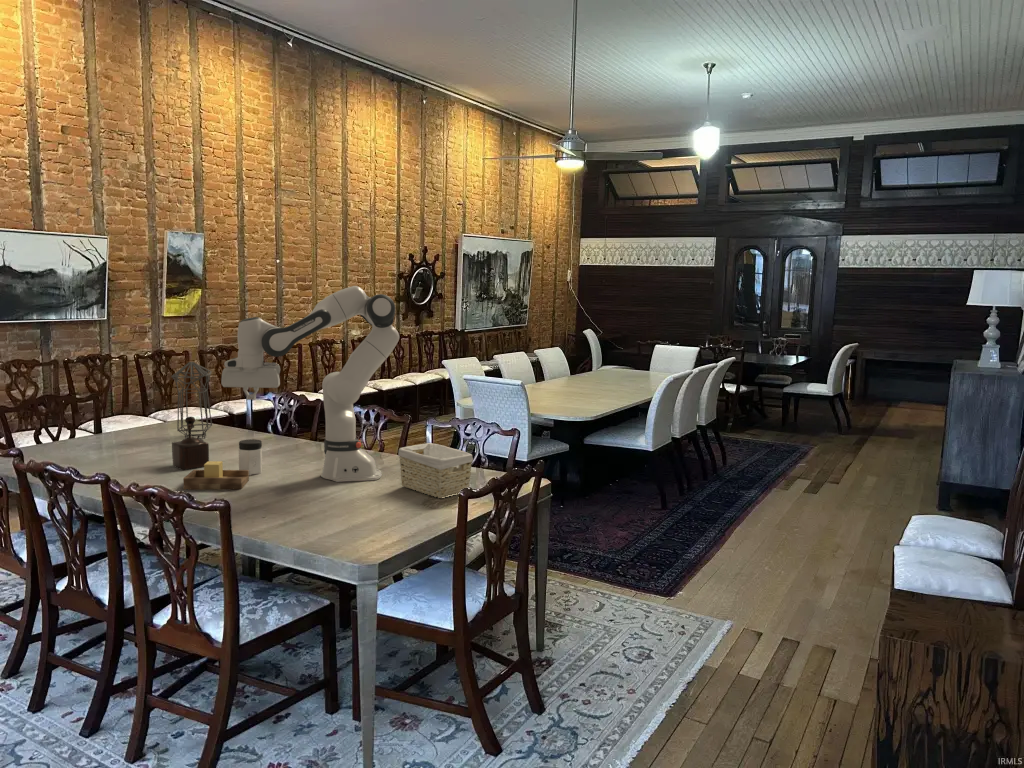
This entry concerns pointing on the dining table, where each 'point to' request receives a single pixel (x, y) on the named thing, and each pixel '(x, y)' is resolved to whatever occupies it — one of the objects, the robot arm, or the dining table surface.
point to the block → (213, 469)
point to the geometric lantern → (193, 392)
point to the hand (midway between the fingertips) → (251, 399)
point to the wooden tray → (216, 480)
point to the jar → (250, 456)
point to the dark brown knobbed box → (190, 450)
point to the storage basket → (435, 469)
